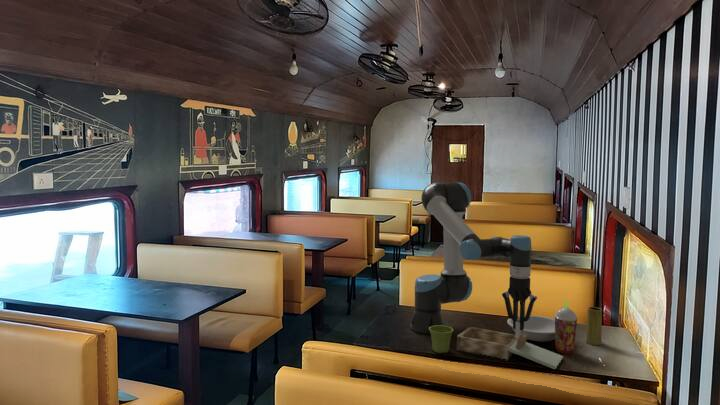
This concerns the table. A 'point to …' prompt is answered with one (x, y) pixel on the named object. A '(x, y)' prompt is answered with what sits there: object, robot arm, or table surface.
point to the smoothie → (565, 330)
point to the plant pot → (440, 338)
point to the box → (486, 342)
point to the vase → (594, 326)
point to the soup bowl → (537, 328)
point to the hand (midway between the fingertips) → (518, 337)
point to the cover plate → (535, 353)
